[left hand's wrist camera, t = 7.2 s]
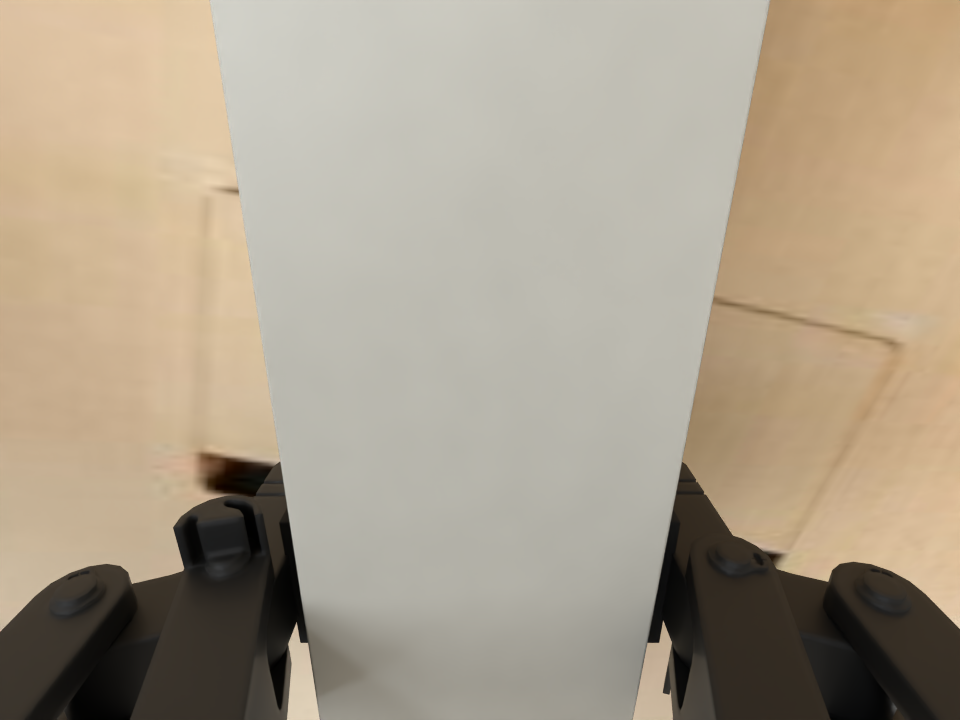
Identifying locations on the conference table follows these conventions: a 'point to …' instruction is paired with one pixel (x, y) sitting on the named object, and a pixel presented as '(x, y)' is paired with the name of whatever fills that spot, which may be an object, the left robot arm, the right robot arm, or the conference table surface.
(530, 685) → the post
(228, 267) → the conference table surface
